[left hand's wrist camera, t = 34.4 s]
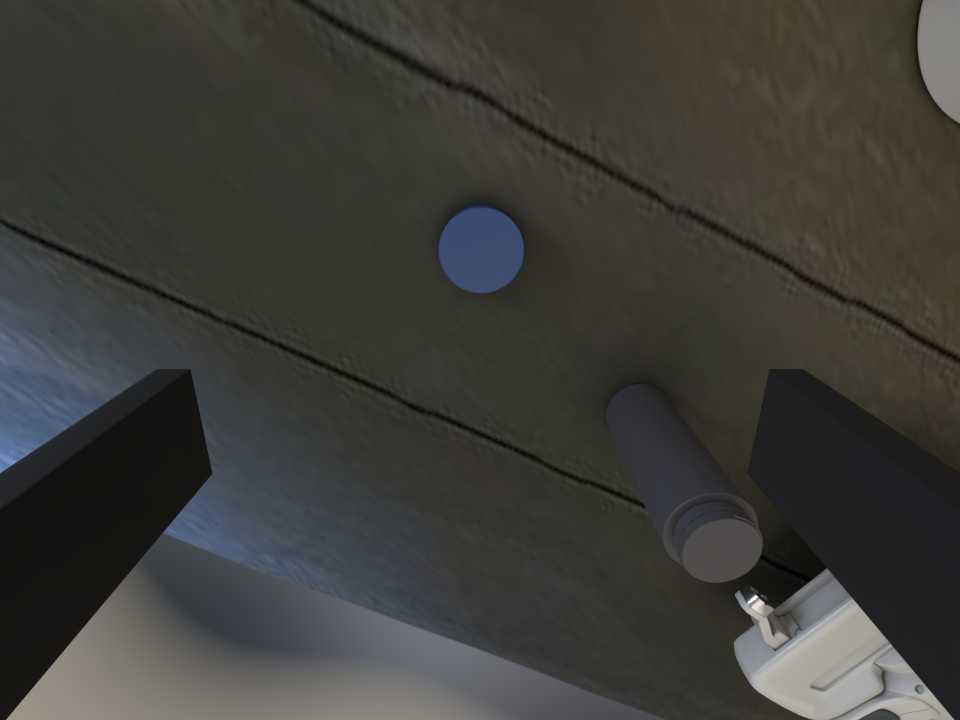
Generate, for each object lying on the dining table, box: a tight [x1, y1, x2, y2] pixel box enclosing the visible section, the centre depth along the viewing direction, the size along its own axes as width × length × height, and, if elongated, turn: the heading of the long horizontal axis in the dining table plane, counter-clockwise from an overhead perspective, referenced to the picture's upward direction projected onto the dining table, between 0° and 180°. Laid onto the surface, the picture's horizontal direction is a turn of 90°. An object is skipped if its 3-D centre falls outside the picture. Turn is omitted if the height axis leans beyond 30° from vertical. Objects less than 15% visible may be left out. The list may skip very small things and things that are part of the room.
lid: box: [439, 205, 524, 293], centre depth 37 cm, size 6×6×2 cm
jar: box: [605, 384, 763, 583], centre depth 35 cm, size 5×5×16 cm
